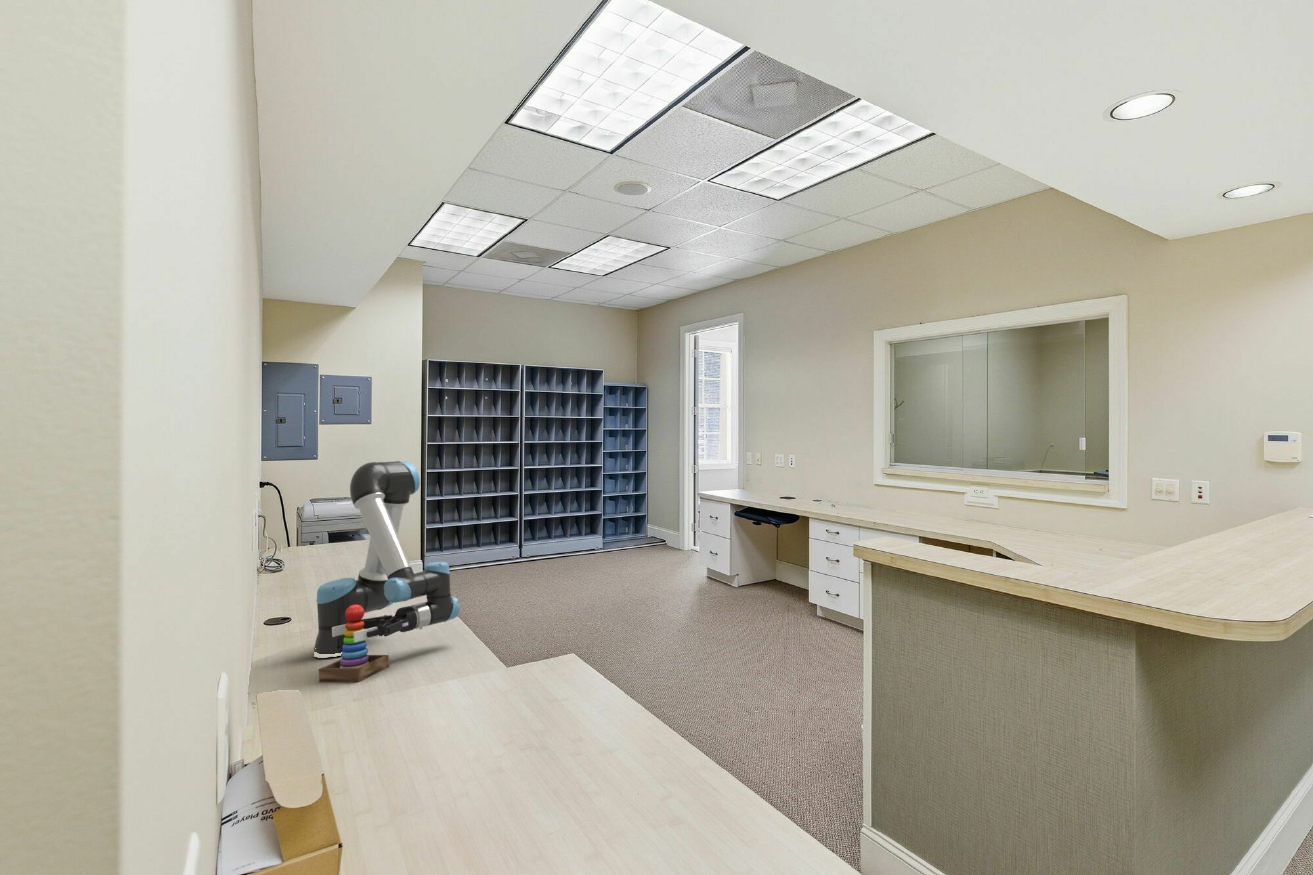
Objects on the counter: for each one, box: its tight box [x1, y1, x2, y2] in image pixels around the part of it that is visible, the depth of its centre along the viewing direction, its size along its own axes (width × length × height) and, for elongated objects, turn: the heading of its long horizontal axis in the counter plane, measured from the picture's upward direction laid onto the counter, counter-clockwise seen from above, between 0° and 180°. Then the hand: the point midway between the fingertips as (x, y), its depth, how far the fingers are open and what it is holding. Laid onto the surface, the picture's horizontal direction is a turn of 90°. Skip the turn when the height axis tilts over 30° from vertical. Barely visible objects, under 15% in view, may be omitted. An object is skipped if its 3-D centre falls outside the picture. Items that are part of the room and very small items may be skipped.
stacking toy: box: [339, 605, 369, 668], centre depth 182 cm, size 8×8×19 cm
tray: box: [318, 654, 390, 683], centre depth 181 cm, size 13×13×4 cm
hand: (343, 634), depth 179 cm, fingers open, 13 cm apart
